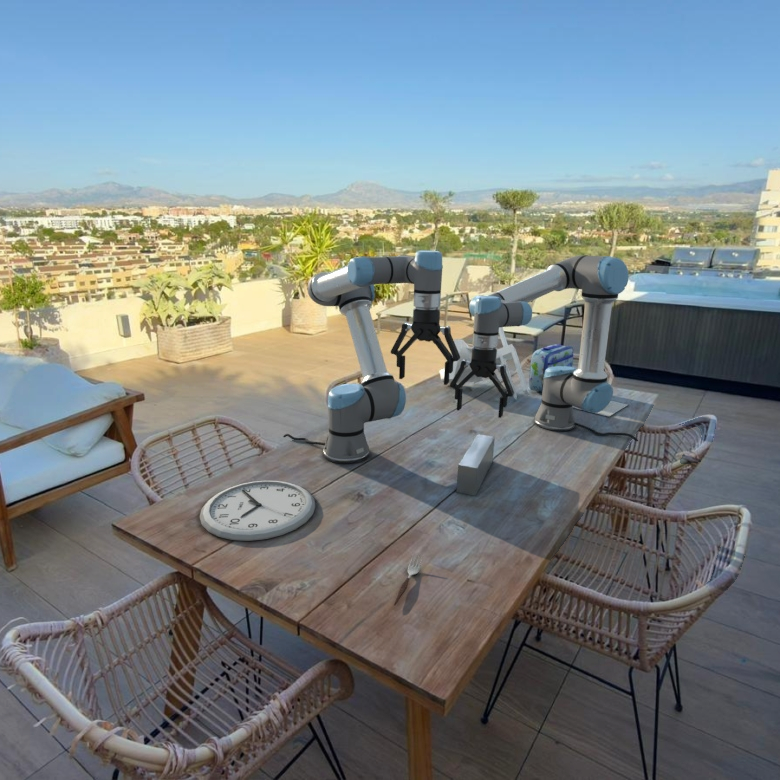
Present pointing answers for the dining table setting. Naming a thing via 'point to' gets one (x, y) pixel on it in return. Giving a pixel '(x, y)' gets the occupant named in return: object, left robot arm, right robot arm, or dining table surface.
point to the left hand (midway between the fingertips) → (423, 380)
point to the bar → (475, 464)
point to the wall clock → (257, 510)
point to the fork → (412, 571)
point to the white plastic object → (501, 357)
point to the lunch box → (548, 363)
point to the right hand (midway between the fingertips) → (479, 412)
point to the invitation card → (610, 408)
